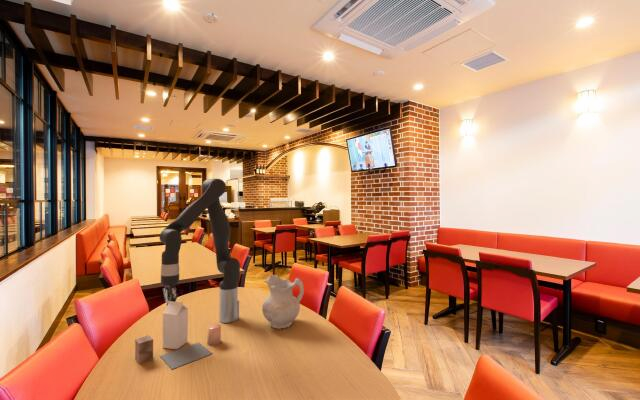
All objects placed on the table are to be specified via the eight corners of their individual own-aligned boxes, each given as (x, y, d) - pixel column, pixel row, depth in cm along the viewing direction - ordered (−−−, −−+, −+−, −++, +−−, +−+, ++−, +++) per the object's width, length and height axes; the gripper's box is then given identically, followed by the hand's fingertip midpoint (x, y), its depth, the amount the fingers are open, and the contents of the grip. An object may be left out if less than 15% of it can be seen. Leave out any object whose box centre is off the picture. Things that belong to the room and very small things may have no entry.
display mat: (198, 342, 132) (198, 342, 132) (212, 353, 123) (212, 353, 123) (159, 356, 120) (159, 355, 120) (171, 369, 111) (171, 368, 111)
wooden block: (149, 354, 122) (149, 335, 122) (153, 359, 118) (153, 339, 118) (135, 359, 118) (135, 339, 118) (138, 364, 115) (139, 343, 114)
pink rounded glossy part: (217, 338, 136) (217, 323, 136) (223, 342, 132) (223, 327, 132) (205, 342, 132) (205, 327, 132) (211, 347, 128) (211, 331, 128)
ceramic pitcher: (306, 320, 160) (307, 273, 161) (300, 333, 140) (301, 280, 142) (267, 318, 162) (268, 272, 164) (256, 331, 142) (258, 279, 144)
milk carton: (176, 349, 125) (177, 305, 125) (162, 347, 127) (162, 303, 126) (187, 341, 132) (188, 299, 132) (173, 340, 134) (174, 298, 133)
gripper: (184, 274, 132) (184, 313, 132) (173, 269, 141) (173, 305, 141) (166, 277, 126) (166, 317, 127) (156, 271, 136) (156, 309, 136)
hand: (169, 311), depth 134 cm, fingers closed
